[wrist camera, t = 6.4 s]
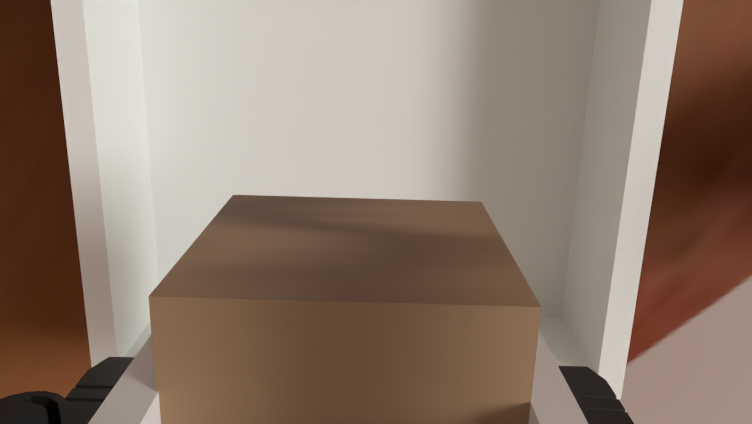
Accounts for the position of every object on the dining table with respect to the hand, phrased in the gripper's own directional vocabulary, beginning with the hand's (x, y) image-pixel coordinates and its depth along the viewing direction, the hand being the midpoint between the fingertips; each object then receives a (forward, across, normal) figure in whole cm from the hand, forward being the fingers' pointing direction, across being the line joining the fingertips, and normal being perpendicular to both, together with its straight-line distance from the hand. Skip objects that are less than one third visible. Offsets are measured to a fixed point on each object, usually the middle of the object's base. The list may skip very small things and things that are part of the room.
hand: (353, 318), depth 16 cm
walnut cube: (0, 0, 0) cm, 0 cm away
